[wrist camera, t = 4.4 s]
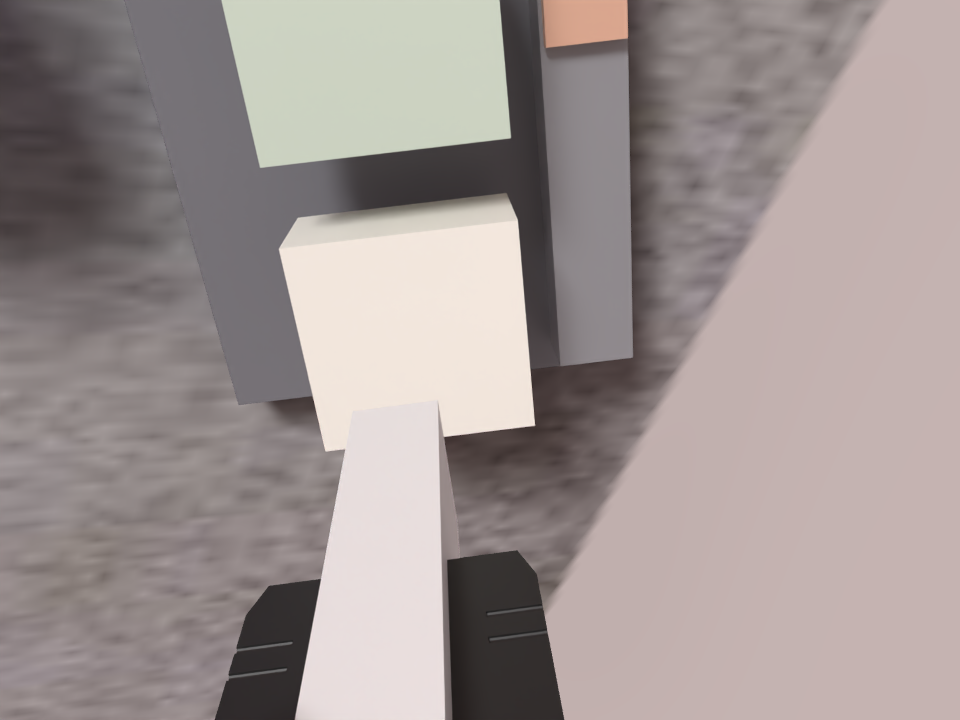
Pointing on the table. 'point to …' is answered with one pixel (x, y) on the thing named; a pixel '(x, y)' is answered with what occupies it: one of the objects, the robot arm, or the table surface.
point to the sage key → (368, 75)
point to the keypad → (409, 182)
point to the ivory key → (413, 313)
